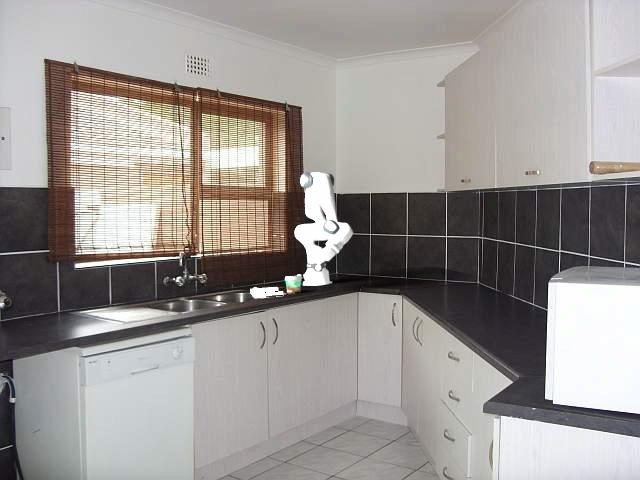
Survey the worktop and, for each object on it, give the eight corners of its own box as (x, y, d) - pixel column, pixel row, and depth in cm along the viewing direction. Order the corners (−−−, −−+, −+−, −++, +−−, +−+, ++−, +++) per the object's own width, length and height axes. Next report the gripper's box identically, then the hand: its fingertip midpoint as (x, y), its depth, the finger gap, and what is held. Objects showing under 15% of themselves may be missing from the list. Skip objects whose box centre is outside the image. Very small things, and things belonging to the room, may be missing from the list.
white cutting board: (250, 293, 384) (250, 287, 384) (277, 291, 388) (277, 285, 387) (254, 298, 362) (254, 292, 362) (283, 296, 365) (282, 290, 365)
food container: (293, 294, 371) (292, 276, 371) (285, 293, 375) (284, 276, 375) (307, 291, 381) (306, 274, 381) (298, 290, 385) (298, 274, 385)
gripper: (325, 242, 391) (310, 259, 390) (332, 243, 371) (316, 261, 370) (332, 249, 392) (317, 266, 391) (340, 251, 372) (324, 269, 371)
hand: (317, 264), depth 380 cm, fingers closed
